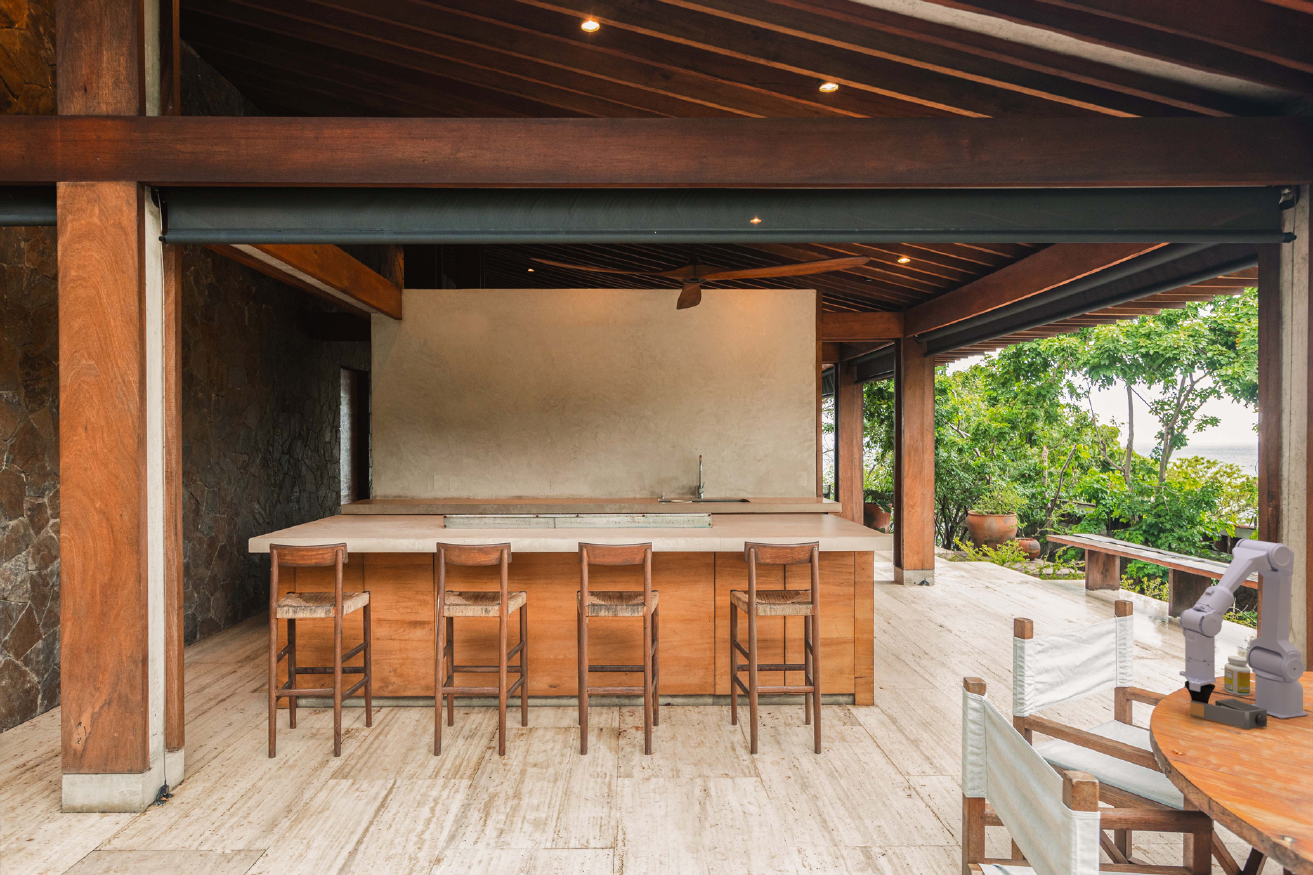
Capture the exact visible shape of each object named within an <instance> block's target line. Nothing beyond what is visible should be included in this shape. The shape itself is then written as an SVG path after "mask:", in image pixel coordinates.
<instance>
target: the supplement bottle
mask: <svg viewBox="0 0 1313 875" xmlns="http://www.w3.org/2000/svg"><path fill="white" fill-rule="evenodd" d="M1223 670H1224V673H1223V674H1224V676H1223V680H1224V682H1223V683H1224V684H1223V686H1224V687H1223V689H1224V691H1225V692H1227V693H1229V694H1231V695H1236V696H1243V697H1244V696H1245V697H1247V696H1249V695H1250V694H1251V669H1250V667H1248V663H1247V660H1246V657H1242V656H1238V655H1228V656H1227V663H1225V664H1224V669H1223Z"/></svg>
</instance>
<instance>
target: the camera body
mask: <svg viewBox="0 0 1313 875" xmlns="http://www.w3.org/2000/svg"><path fill="white" fill-rule="evenodd" d="M1251 704H1252V703H1248V702H1244V701H1242V700H1240V699H1236V698H1233V697H1232V698H1226V699H1225V698H1224V699H1218V700H1214V705H1217V706H1221V707H1226V708H1231V709H1235V710H1240V711H1244V712H1249V729H1248V730H1251V729H1252V730H1253V729H1258V728H1259V729H1260V728H1264V727H1265V728H1266V727H1268V714H1267V710H1265V709H1262V708H1260V707H1257V706H1254V705H1251Z"/></svg>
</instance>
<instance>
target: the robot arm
mask: <svg viewBox="0 0 1313 875" xmlns="http://www.w3.org/2000/svg"><path fill="white" fill-rule="evenodd" d="M1231 554H1232V558H1233V559H1232V560H1231V562H1230V564H1229V565H1228V567H1226V568H1227V569H1226V570H1225V571H1224V574H1223V575H1222V577H1221V579H1220V580H1219V582H1218V583H1217V584H1216V585H1212V586H1208V587H1207V588H1206V589H1205V590H1204V592H1203V594H1202V595H1201V596H1200V598H1199V599H1198V600H1197V601H1196V602H1195V604H1194V605H1193V606H1192V607H1191V608H1189V609H1185V610H1183V611H1182V612H1181V614H1180V616H1179V618H1178V624H1179V626H1180V628H1181V629H1182V635H1183V637H1184V641H1185V642H1184V643H1185V647H1184V650H1185V652H1184V653H1185V654H1184V657H1185V658H1184V659H1185V660H1184V664H1185V665H1184V666H1185V667H1184V669H1185V670H1181V671H1179V676H1182V677H1184V678H1185V679H1186V681H1184V685H1185V688H1186V689H1187V691H1188V693H1189V695H1190V700H1194V701H1198V702H1203V703H1208V704H1209V701H1210V697H1211V695H1212V693H1213V692H1214V690H1215V689H1216V685H1215V683H1216V681H1217V678H1216V677H1215V674H1216V673H1215V668H1216V666H1215V665H1216V664H1215V662H1216V661H1215V660H1216V659H1215V656H1216V655H1215V652H1216V651H1215V647H1216V646H1215V644H1216V643H1215V638H1216V636H1217V635H1219V633H1221V631H1222V626H1223V625H1222V624H1223V621H1224V615H1225V614H1226V613H1227V611H1228V610H1229V608H1231V606H1232V605H1233V604H1234V603H1235V597H1234V593H1235V591H1237V589H1239V587H1240V586H1242V584H1244V582H1245V581H1246V580H1247V579H1248V578H1249V577H1250V576H1251V574H1252V573H1257V572H1258V573H1259V574H1260V575H1261V577H1262V581H1263V582H1262V595H1261V596H1262V597H1261V613H1260V614H1261V615H1260V616H1261V617H1260V618H1261V619H1260V635H1259V637H1256V638H1254V639H1252V640H1250V642H1249V649H1248V650H1247V651H1246V655H1245V658H1246V660H1247V666H1249V668H1251V669H1252V671H1251V672H1252V673H1254V674H1255V675H1254V676H1255V678H1254V679H1255V680H1254V681H1255V682H1254V684H1255V685H1254V686H1255V690H1254V691H1255V693H1254V694H1255V699H1254V703H1250V704H1251V705H1254V706H1257V707H1260V708H1262V709H1265V710H1267V715H1268V716H1272V717H1274V718H1278V719H1281V720H1282V719H1290V718H1295V717H1304V716H1308V713H1307V712H1305V711H1304V687H1303V686H1302V684H1301V682H1300V681H1299V679H1300V678H1301V677H1302V676H1303V673H1304V671H1305V670H1304V664H1303V661H1302V652H1301V650H1299V649H1298V648H1297V647H1296V646H1295V645H1294V644H1293V643H1292V642H1291V641H1290V624H1291V623H1290V621H1291V605H1292V589H1293V588H1292V586H1293V585H1292V583H1293V574H1294V563H1295V561H1294V560H1295V552H1294V551H1293V550H1292V549H1291V548H1290V547H1289V546H1288V545H1287V544H1285V543H1282V542H1279V543H1278V542H1277V543H1276V542H1270V541H1262V540H1257V539H1256V540H1255V539H1251V538H1247V537H1246V538H1245V537H1244V538H1241V539H1239V540H1238V541H1237V542H1236V544H1235V547H1234V548H1232V549H1231Z"/></svg>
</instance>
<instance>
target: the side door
mask: <svg viewBox="0 0 1313 875" xmlns="http://www.w3.org/2000/svg"><path fill="white" fill-rule="evenodd" d="M1190 716H1191V717H1194V718H1195V717H1196V718H1199V719H1204V720H1208V721H1212V722H1217V723H1220V724H1226V725H1228V726H1229V725H1230V726H1235V727H1238V728H1243V729H1247V730H1250V729H1249V712H1244V711H1240V710H1235V709H1231V708H1226V707H1221V706H1217V705H1215V704H1212V703H1209V702H1208V703H1203V702H1198V701H1194V700H1192V699H1190Z"/></svg>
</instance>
